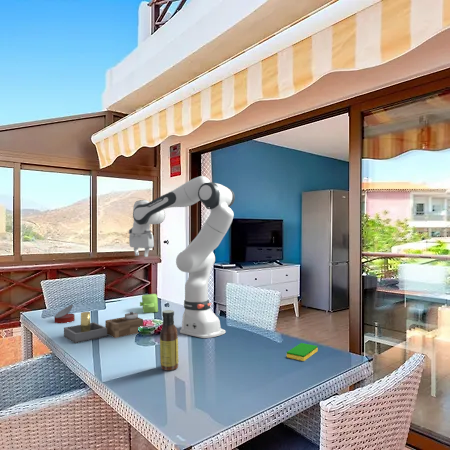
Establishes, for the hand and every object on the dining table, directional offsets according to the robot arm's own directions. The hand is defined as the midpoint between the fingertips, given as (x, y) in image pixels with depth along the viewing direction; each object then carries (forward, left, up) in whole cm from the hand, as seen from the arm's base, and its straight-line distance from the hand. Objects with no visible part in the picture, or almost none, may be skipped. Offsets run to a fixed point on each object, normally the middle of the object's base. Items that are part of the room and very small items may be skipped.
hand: (141, 256), depth 194 cm
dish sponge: (-90, -19, -35) cm, 98 cm away
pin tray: (-10, +34, -34) cm, 49 cm away
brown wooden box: (-16, +18, -34) cm, 42 cm away
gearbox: (+17, -14, -34) cm, 41 cm away
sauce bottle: (-67, +27, -34) cm, 80 cm away
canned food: (+26, +31, -34) cm, 53 cm away
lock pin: (-10, +34, -33) cm, 49 cm away
